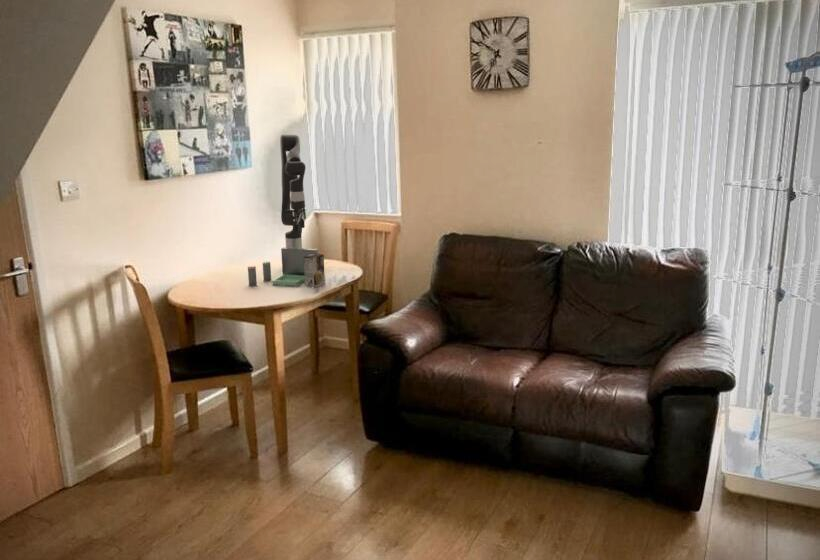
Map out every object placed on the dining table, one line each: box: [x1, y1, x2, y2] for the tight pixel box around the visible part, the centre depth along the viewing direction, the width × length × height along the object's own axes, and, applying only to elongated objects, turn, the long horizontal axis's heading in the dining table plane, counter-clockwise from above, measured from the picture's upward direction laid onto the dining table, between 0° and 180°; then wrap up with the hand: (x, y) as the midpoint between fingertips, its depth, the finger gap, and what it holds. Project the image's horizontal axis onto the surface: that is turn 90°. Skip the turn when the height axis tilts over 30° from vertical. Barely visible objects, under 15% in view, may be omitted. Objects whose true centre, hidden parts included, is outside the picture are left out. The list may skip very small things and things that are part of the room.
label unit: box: [280, 246, 319, 276], centre depth 363 cm, size 8×20×16 cm, turn 76°
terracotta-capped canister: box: [247, 265, 258, 286], centre depth 349 cm, size 4×4×10 cm
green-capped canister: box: [262, 261, 272, 282], centre depth 358 cm, size 4×4×10 cm
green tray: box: [271, 273, 305, 287], centre depth 354 cm, size 14×14×2 cm
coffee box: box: [304, 252, 326, 289], centre depth 347 cm, size 9×6×16 cm
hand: (299, 229), depth 361 cm, fingers open, 8 cm apart
